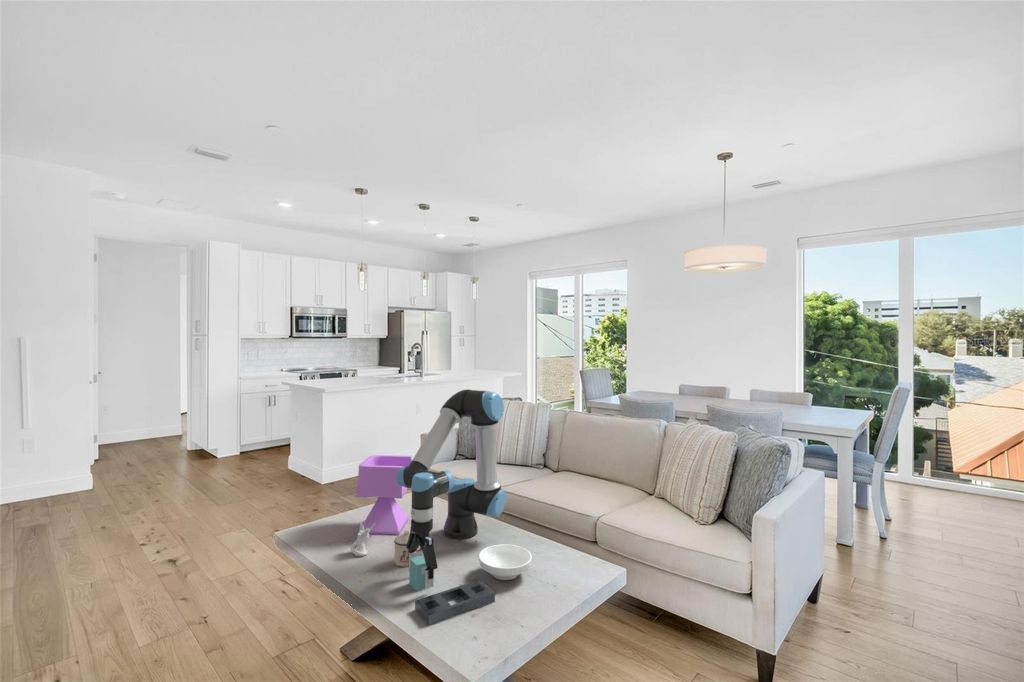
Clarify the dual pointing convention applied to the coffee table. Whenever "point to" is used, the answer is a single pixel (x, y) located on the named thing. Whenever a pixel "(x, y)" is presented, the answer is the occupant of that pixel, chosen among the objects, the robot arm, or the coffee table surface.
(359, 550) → the figurine
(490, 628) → the coffee table surface
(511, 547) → the bowl
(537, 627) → the coffee table surface
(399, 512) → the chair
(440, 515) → the coffee table surface
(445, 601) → the grey flat slotted block
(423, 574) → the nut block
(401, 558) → the teacup with lid
